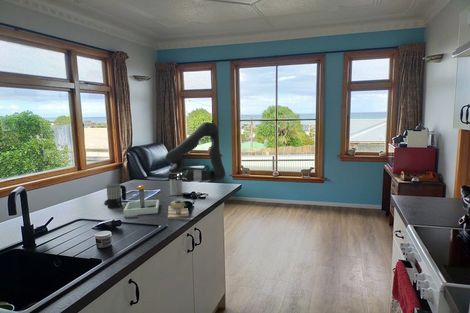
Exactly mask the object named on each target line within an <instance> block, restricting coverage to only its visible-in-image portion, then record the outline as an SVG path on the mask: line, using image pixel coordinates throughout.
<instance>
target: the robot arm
mask: <svg viewBox="0 0 470 313" xmlns="http://www.w3.org/2000/svg"><path fill="white" fill-rule="evenodd" d="M204 137H210V140H211V141H210V142H211V145H210V150H209V159H210V163H211V166H212V168H213V170H210V169H186V172H185V171H182V169H183V155H186V154H188V153H190V152H192V151H193V150H195V149H196V148H197V147H198V146H199V141H200V140H201V139H203V138H204ZM220 151H221V150H220V140H219V128H218V126H217V124H216V123H214V122H210V121H209V122H208V121H207V122H202V123H201V124H200V125H199V126H198V127H197V128H196V129H195V131H194V132H192V133H191V134H190V135H189V136H187V137H186V138H184V140H183V141H181V143H179V144H178V145H177V146H176V147H174V148H173V149H171V150H170V151H168V152H167V153H166V154H165V160H166V162H167V163H168V164H172V166H170V167H169V168H168V177H167V178H168V180H169V192H170V195H171V196H180V195H183V181H185V180H186V182H187V183H188V182H189V183H190V182H201V181H202V182H203V181H219V182H220V181H222V180H223V179H224V178H225V177H226V170H225V167H224V164H223V160H222V156H221V152H220Z"/></svg>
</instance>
